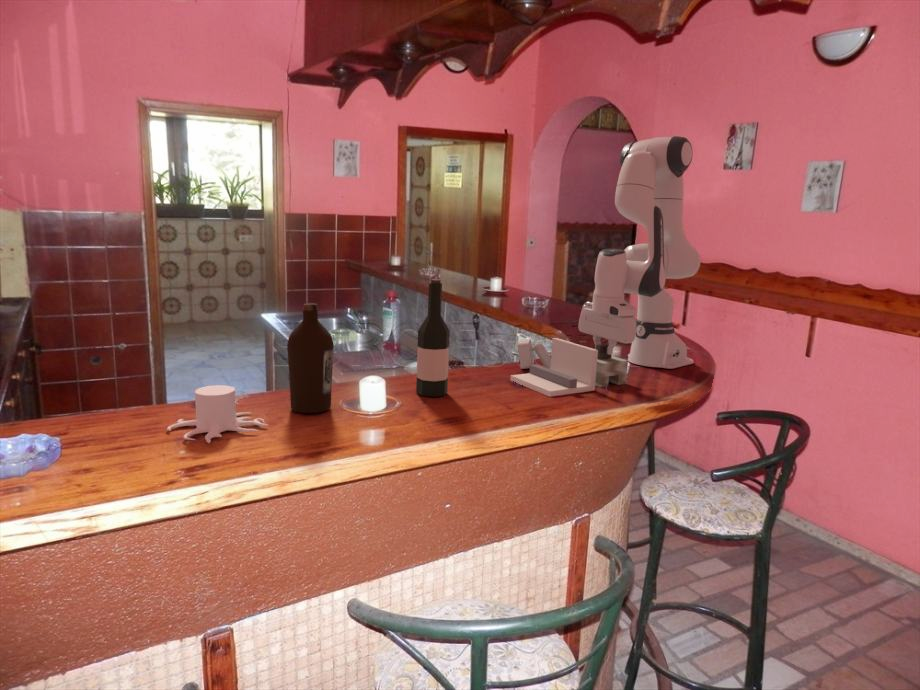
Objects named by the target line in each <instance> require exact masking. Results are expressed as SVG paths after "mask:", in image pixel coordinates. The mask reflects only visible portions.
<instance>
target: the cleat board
mask: <svg viewBox="0 0 920 690" xmlns="http://www.w3.org/2000/svg"><path fill="white" fill-rule="evenodd" d="M551 339H552V340H551V352H550V357H551V365H550V369H548V368H546V367H544V365H540V364H538V363H537V364H535V363H534V365H530V368H529V372H527V373H521V374H520V373H519V374H511V375H510V381H511V382H513V381H514V382H513V383H515V382H516V384H518V385H520V386H522V385H523V387H525V388H527V389H530V390H533V391H535V392H537V393H539V394H542V395H545V396H546V397H550V398H552V397H556V396H565V395H573V394H579V393H585V392H586V393H587V392H592V391H593V392H594V391H595V389H596V388H595V387H596V386H595V380H596V368H597V357H598V350H596V349H595V348H592V347H589V346H585V345H582V344H577V343H575V342H571V341H568V340H566V339H562V338H557V337H553V338H551Z"/></svg>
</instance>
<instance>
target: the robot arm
mask: <svg viewBox="0 0 920 690" xmlns="http://www.w3.org/2000/svg"><path fill="white" fill-rule="evenodd" d="M692 160H693V146H692V144H691V142H690V141H689V140H688V138H687V137H685V136H676V135H674V136H658V137H653V138H647V139H643V140H639V141H638V140H635V141H634V140H633V141H631V142H629V143H627V144H625V145H624V146H623V148H622V149H621V151H620V154H619V167H620V168H621V169H620V171H619V174H618V180H617V183H616V186H615V187H616V188H615V193H614V205H615V209H616V210H617V212H618V213H619V214H620V215H621V216H623V217H624V218H625V219H627V220H629V221H631V222H632V223H635V224H637V225H639V226H642V227H643V228H644V229H645V230H646V232H647V233H646V234H647V243H638V244H632V245H629V246H628V245H627V247H625V249H621V248H605V249H602V250H600V251H599V252H598V253H599V254H598V255H597V261H596V264H595V270H594V284H595V285H594V290H593V293H592V294H593V295H592V302H590V301H586V302H584V303H583V304H582V307H581V312H580V315H579V319H578V330H579V332H581V333H584V334H587V335H591V336H592V340H593V342H594V346H595V347H594V349H596V345H602V343H601V341H602V339H603V338H604V339H607V341H608V343H607V344H609V346H608V348H605V354H608V355H611V354H612V355H613V353H614V348H615V347H616V346H617V344H618V343H621V344H631V346H630V351H629V353H628V354H627V357H628V358H627V360H628V363H629V362H630V363H632V364H634V365H638V366H643V367H650V368H663V369H670V370H671V369H672V370H673V369H676V368H677V369H678V368H681V367H685V366H688V365H689V366H690V365H692V364H694V359H692V358H690V357H687V355H688V347H687V345H686V343H685V342H684V341H682V339H681V338H679V336H678V335H677V334H675V330H676V329H677V330H680V328H681V323H680V322H675V321H674V322H673V314H674V306H675V305H674V304H675V302H674V297H673V296H672V295H671V293H669V292H668V291H666V290H665V289H664V288H665V286H666V285H665V284H666V279H667V280H668V279H669V280H670V279H671V280H680V279H686V278H690V277H693V276H694V275H696V274H697V273H698V271H699V269H700V267H701V255H700V253H699V251H698V250H697V249H696V248H695V247H694V246H693V245H692V244H691V243H690V242H689V240H688V238H687V236H686V234H685V230H684V226H683V225H684V224H683V209H684V208H683V207H684V194H685V193H684V192H685V191H684V190H685V188H684V177H683V175H684V173H685V172H686V171H687V170H688V168H690V165H691V163H692ZM625 294H632V295H637V308H636V307H634V306H633V305H632V304H630V303H629V302H627V301H626V300H625ZM635 316H636V318H635ZM612 355H611V356H612Z"/></svg>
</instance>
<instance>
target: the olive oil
mask: <svg viewBox="0 0 920 690" xmlns="http://www.w3.org/2000/svg"><path fill="white" fill-rule="evenodd" d="M302 305H303V309H302V320H301V322H300V323H299V324H298V325H297V326H296V327H295V328H294V329H293V330H292V331H291V333H289V337H288V340H287V343H286V349H287V351H286V352H287V361H288V375H289V376H288V377H289V379H288V380H289V393H290V394H289V396H290V408H291V410H292V411H294V412H297V413H305V414H313V413H314V414H315V413H320V412H321V413H322V412H326V411H328V410H329V409H330V408H331V407H332V389H333V388H332V387H333V386H332V385H333V383H332V381H333V364H334V350H335V348H334V347H335V345H334V340H333V336H332V334H331V333H330V332H329V331H328V330H327V328H326V327H325V326H324V325H323V324H322V323H321V322H320V321H319V319H318V316H319V315H318V313H319V312H318V311H319V310H318V303H313V302H308V303H304V304H302Z"/></svg>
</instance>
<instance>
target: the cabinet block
mask: <svg viewBox="0 0 920 690" xmlns="http://www.w3.org/2000/svg"><path fill="white" fill-rule="evenodd" d="M609 344H610V343H605V344H604V343H601V345H596V350H598V357H597V368H596V380H595V387H598V388H605V387H609V383H611V384H615V385H617V386H618V385H619V386H620V385H626V383H627V376H628V375H627V374H628V365H629V364H628V363H629V361H628V359H624V358H621V357H617V356H613V354H611V355H608V354H605V348H608V346H609Z"/></svg>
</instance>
